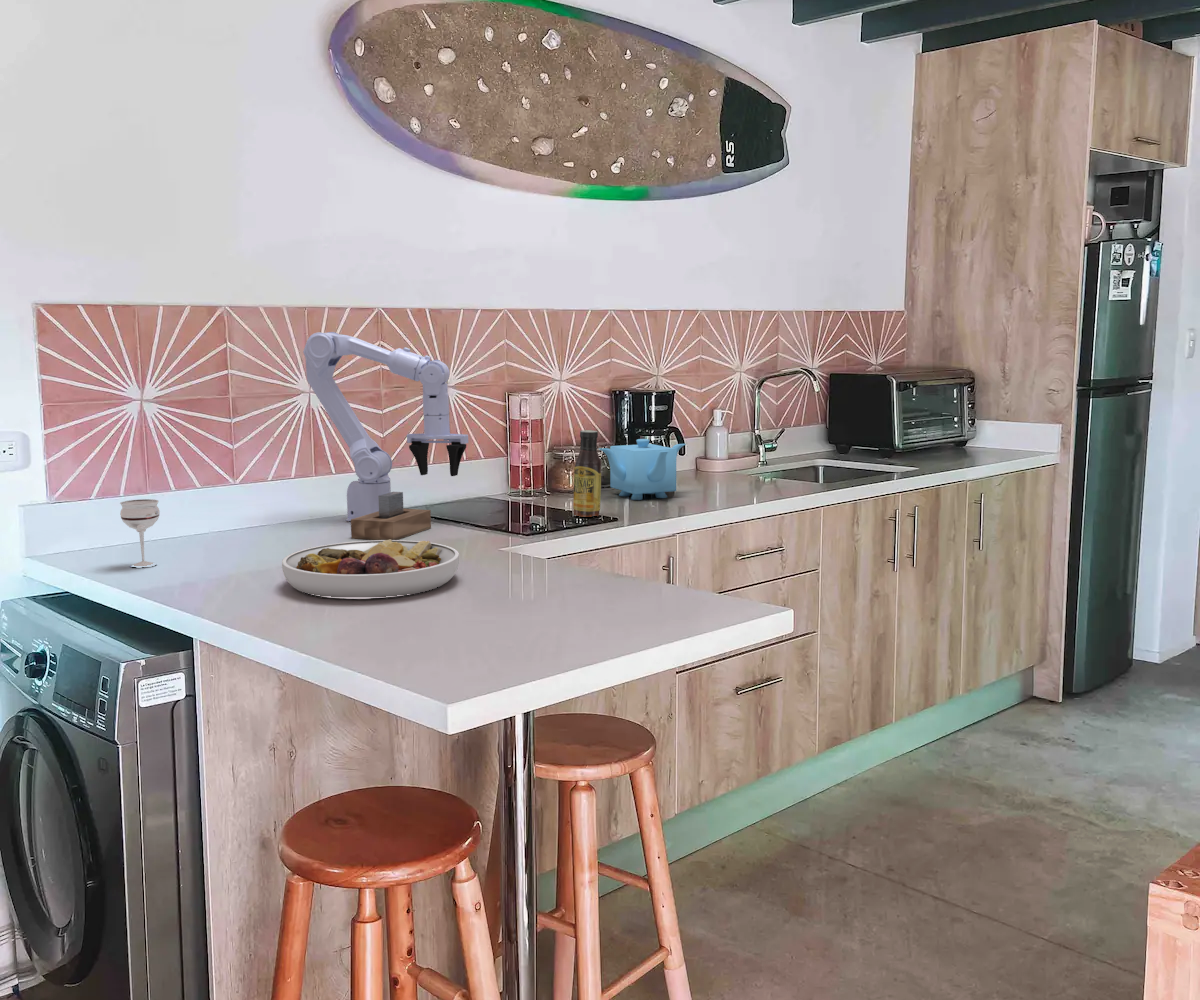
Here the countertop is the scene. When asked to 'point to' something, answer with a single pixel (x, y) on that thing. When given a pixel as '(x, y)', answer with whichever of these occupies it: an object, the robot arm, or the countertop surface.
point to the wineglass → (140, 519)
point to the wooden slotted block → (390, 525)
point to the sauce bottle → (587, 477)
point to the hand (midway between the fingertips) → (439, 475)
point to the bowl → (371, 568)
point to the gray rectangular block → (390, 505)
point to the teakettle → (642, 469)
